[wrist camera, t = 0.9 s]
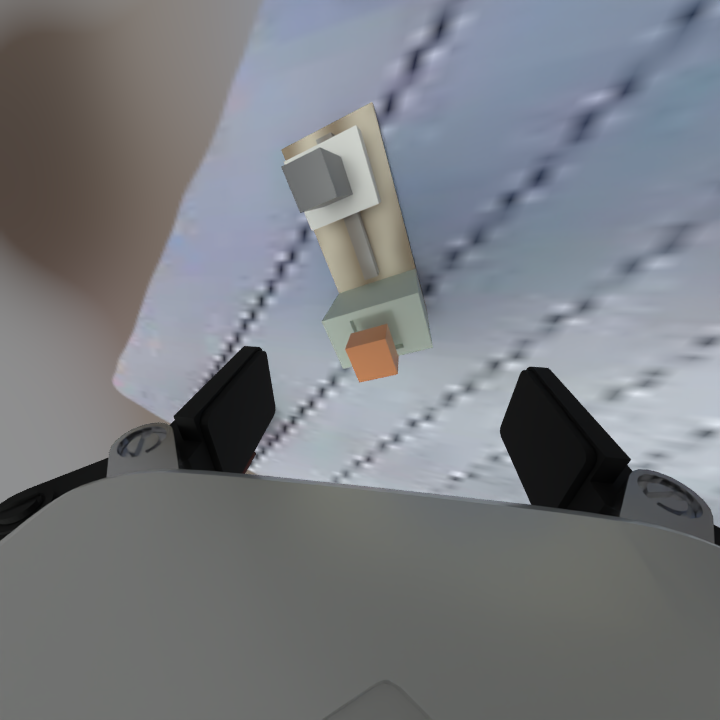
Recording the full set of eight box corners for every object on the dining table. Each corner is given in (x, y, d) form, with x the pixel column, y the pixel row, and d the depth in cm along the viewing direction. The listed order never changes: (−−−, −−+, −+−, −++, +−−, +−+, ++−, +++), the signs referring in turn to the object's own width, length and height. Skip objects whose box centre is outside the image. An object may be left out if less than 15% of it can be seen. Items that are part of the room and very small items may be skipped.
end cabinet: (415, 268, 33) (418, 292, 26) (427, 313, 36) (432, 347, 29) (339, 293, 36) (321, 321, 29) (355, 333, 39) (343, 368, 32)
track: (373, 105, 27) (369, 96, 25) (426, 309, 37) (428, 320, 34) (286, 151, 30) (273, 147, 27) (356, 328, 40) (353, 340, 37)
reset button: (387, 323, 25) (385, 338, 23) (398, 356, 27) (397, 374, 25) (350, 333, 26) (344, 349, 24) (363, 364, 28) (359, 382, 26)
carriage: (363, 134, 27) (339, 103, 17) (382, 201, 30) (370, 208, 20) (300, 165, 29) (246, 154, 19) (323, 225, 32) (286, 242, 22)
